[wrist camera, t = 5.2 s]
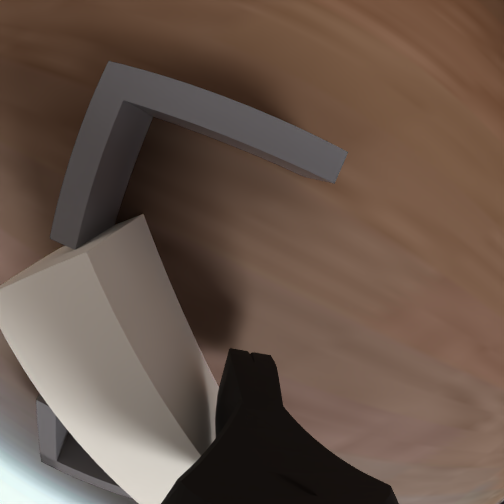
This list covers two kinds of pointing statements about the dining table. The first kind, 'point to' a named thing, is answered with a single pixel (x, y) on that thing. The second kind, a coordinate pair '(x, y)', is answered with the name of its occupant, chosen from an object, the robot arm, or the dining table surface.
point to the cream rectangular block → (115, 357)
